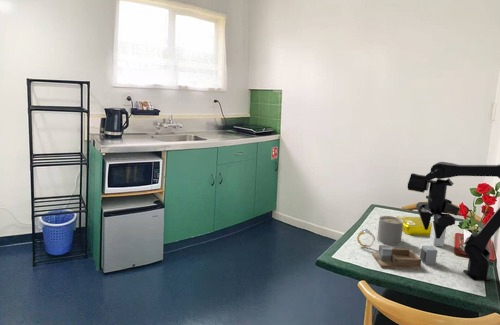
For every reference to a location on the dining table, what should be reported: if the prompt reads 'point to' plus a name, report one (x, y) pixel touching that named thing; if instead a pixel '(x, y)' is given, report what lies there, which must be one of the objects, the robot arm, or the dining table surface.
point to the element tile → (415, 226)
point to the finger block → (428, 255)
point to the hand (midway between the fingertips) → (431, 233)
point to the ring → (364, 233)
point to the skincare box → (434, 240)
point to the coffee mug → (390, 230)
